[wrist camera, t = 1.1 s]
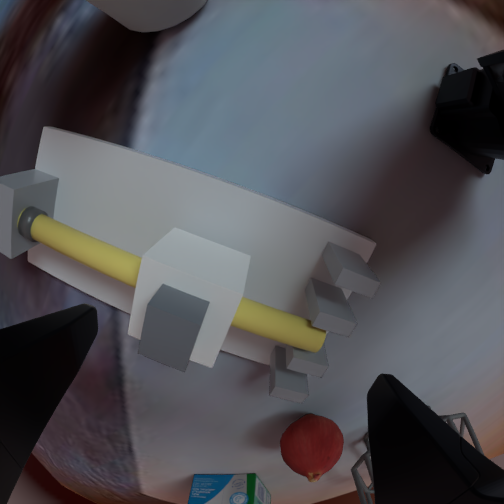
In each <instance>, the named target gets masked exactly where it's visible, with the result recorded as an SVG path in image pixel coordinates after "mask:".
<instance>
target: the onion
mask: <svg viewBox="0 0 504 504" xmlns="http://www.w3.org/2000/svg"><path fill="white" fill-rule="evenodd" d="M343 443H344V441H343V435H342V433H341V431H340V429H339V427H338V426H337V424H335V423H334V422H333V421H332V420H330V419H328V418H325V417H322V416H317V415H314V414H307V415H305V416H303V417H302V418H300V419H299V420H297V421H295V422H294V423H292V424H291V425H290V426H289V427H288V428H287V429H286V431H285V432H284V433H283V434H282V437H281V441H280V447H281V455H282V458H283V460H284V462H285V463H286V464H287V465H288V466H289V467H290V468H291V469H292V470H293V471H294V472H296V473H298V474H300V475H303V476H306V477H307V478H308V480H309V482H317V481H318V480H319V478H320V477H321V476H322V475H323V474H324V473H326V472H327V471H329V470H330V469H331V468H332V467H333V466H334V465H335V464H336V463H337V461H338V460H339V458H340V456H341V454H342V450H343Z"/></svg>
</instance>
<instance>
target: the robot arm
mask: <svg viewBox="0 0 504 504" xmlns="http://www.w3.org/2000/svg"><path fill="white" fill-rule="evenodd" d="M477 60H478V62H479V64H480V66H481V67H483V69H482V70H479V69H478V68H476V67H475V68H470V69H467V70H463V69H462V68H461V67H460V66H458V65H457V64H455V63H452V64H449V65H448V68H447V72H446V76H445V77H443V79H442V83H441V86H440V90H439V93H438V97H437V100H436V107H437V108H436V111H435V114H434V117H433V120H432V123H431V126H430V132H431V134H432V135H433V136H434V137H436V138H437V139H439V140H440V141H442V142H443V143H444V144H446V145H447V146H449V147H450V148H451V149H453V150H454V151H455V152H457V153H458V154H460V155H461V156H462V157H463V158H465V159H466V160H467V161H469V162H470V163H471V164H472V165H474V166H475V167H476V168H477V169H479V170H480V171H481V172H482V173H484V174H490V172H491V170H492V167H493V164H494V160H495V158H496V159H503V160H504V50H501V51H498V52H495V53H492V54H489V55H486V56H483V57H480V58H477ZM453 68H454V69H455V71H456V72H455V71H454V70H453ZM436 127H437V128H438V130H439V131H438V133H437V132H436ZM485 167H487V168H486V169H485ZM97 332H98V320H97V310H96V308H95V307H94V306H91V305H88V304H81V305H77V306H74V307H71V308H68V309H64V310H61V311H58V312H55V313H51V314H48V315H45V316H42V317H38V318H35V319H32V320H29V321H25V322H22V323H19V324H16V325H12V326H9V327H6V328H3V329H0V504H7V502H8V500H9V498H10V495H11V493H12V491H13V489H14V487H15V485H16V483H17V481H18V478H19V476H20V474H21V472H22V470H23V469H22V468H24V466H25V464H26V462H27V460H28V458H29V456H30V454H31V452H32V450H33V448H34V447H35V445H36V443H37V441H38V439H39V437H40V435H41V434H42V432H43V430H44V428H45V427H46V425H47V423H48V421H49V419H50V418H51V416H52V414H53V413H54V411H55V409H56V407H57V406H58V404H59V402H60V401H61V399H62V397H63V396H64V394H65V393H66V391H67V389H68V388H69V386H70V384H71V383H72V381H73V380H74V378H75V376H76V375H77V373H78V371H79V369H80V368H81V366H82V364H83V361H84V359H85V357H86V355H87V353H88V351H89V349H90V347H91V345H92V343H93V341H94V339H95V338H96V335H97ZM367 410H368V437H369V446H370V454H371V463H372V472H373V482H374V494H375V504H504V470H503V469H501V468H500V467H499V466H498V465H496V464H495V463H494V462H492V461H491V460H489V459H488V458H487V457H486V456H484V455H483V454H482V453H480V452H479V451H478V450H477V449H475V448H474V447H473V446H472V445H471V444H470V443H468V442H467V441H466V440H465V439H464V438H463V437H462V436H460V435H459V434H458V433H457V432H456V431H455V430H454V429H453V428H451V427H450V426H449V425H448V424H447V423H446V422H445V421H444V420H442V419H441V418H440V417H439V416H438V415H437V414H436V413H435V412H433V411H432V410H431V409H430V408H429V407H428V406H427V405H426V404H424V403H423V402H422V401H421V400H420V399H419V398H418V397H417V396H415V395H414V394H413V393H412V392H411V391H410V390H409V389H408V388H406V387H405V386H404V385H403V384H402V383H401V382H400V381H399V380H397V379H396V378H395V377H394V376H393V375H391V374H380V375H379V376H378V377H377V379H376V380H375V382H374V383H373V385H372V386H371V388H370V389H369V391H368V394H367Z"/></svg>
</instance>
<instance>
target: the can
mask: <svg viewBox="0 0 504 504" xmlns="http://www.w3.org/2000/svg"><path fill="white" fill-rule="evenodd" d="M86 1H88V2H89V3H91V4H93V5H94V6H96V7H97V8H99V9H100V10H102V11H103V12H105V13H106V14H108V15H109V16H111V17H112V18H114V19H115V20H116V21H118V22H119V23H121V24H122V25H124V26H125V27H127V28H128V29H129V30H134V31H138V32H153V31H160V30H163V29H166V28H169V27H173V26H175V25H177V24H179V23H181V22H182V21H184V20H186V19H188V18H190V17H191V16H192V15H193V14H195V13H196V12H197V11H198V10H199V9H200V8H202V7H203V6H204V4H205V3H206V1H207V0H86Z"/></svg>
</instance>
